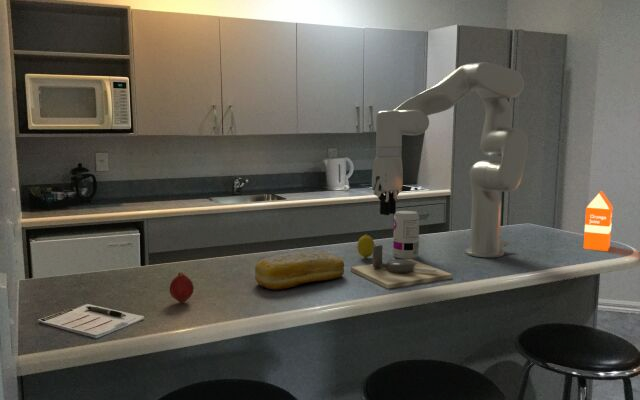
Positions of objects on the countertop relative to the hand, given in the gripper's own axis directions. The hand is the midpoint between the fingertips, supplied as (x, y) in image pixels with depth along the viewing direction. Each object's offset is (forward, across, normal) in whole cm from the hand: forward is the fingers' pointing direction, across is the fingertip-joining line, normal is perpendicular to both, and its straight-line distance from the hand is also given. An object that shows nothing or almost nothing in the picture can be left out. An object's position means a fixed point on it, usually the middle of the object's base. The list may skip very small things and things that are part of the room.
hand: (387, 213), depth 167 cm
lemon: (+17, -6, -13) cm, 22 cm away
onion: (+17, +60, -19) cm, 65 cm away
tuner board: (+17, +2, +7) cm, 19 cm away
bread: (+18, +27, -11) cm, 34 cm away
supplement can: (+17, -17, -5) cm, 24 cm away
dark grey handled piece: (+15, +2, +8) cm, 17 cm away
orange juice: (+17, -74, +37) cm, 84 cm away
